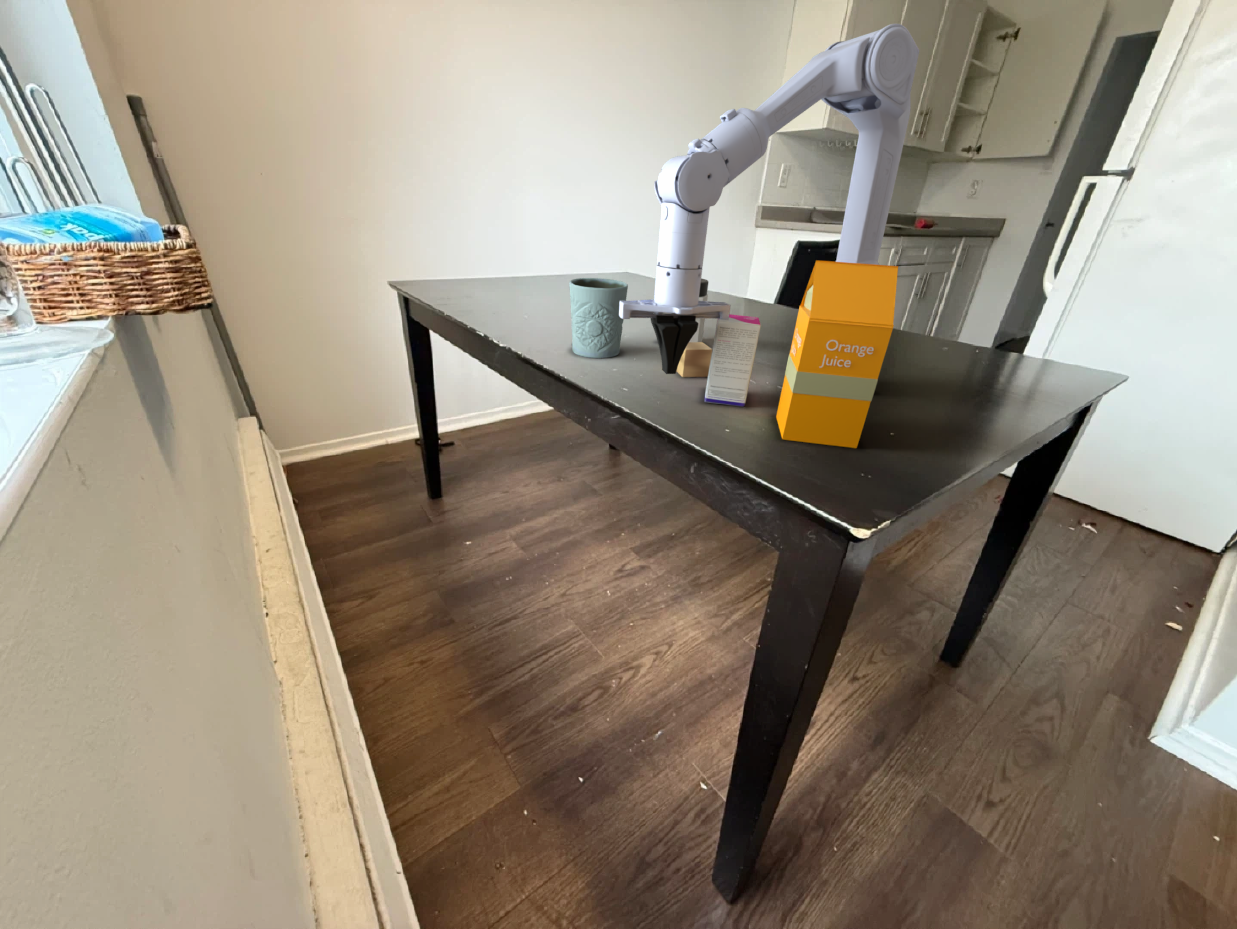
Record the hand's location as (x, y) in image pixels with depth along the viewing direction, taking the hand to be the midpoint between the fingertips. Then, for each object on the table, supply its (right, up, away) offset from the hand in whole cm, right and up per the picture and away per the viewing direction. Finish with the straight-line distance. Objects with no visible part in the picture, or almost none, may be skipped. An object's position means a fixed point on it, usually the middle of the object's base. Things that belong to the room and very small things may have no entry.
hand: (668, 371), depth 70 cm
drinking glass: (-11, +8, +22) cm, 26 cm away
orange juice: (+18, -9, -5) cm, 21 cm away
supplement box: (+9, -3, +4) cm, 10 cm away
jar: (+5, +11, +31) cm, 34 cm away
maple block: (+5, +2, +14) cm, 15 cm away
